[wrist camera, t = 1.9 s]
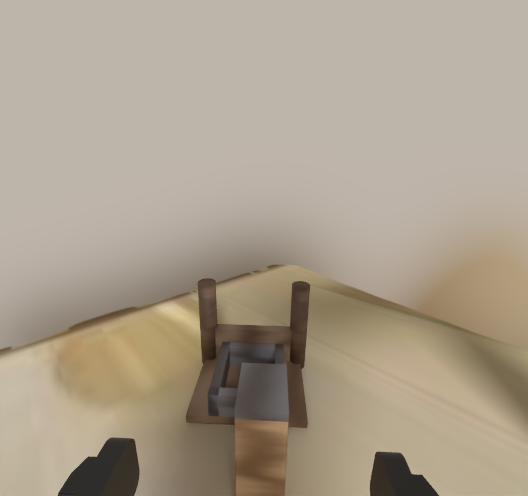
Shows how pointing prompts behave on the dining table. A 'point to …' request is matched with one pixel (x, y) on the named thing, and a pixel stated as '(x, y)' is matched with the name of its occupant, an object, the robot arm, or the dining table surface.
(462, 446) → the dining table surface
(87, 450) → the dining table surface
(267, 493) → the brown wooden block
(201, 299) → the board
